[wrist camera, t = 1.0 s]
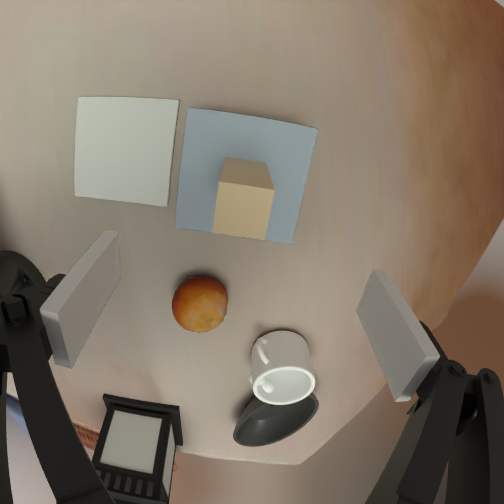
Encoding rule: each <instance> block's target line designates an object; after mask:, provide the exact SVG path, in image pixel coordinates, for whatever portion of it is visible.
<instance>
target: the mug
mask: <svg viewBox="0 0 504 504" xmlns="http://www.w3.org/2000/svg"><path fill="white" fill-rule="evenodd" d="M251 369H252V371H251V374H250V375H249V382H250V383H251V384H252V386H253V392H254V394H255V396H256V397H257V398H258V399H260V400H261V401H263V402H266V403H269V404H274V405H286V404H291V403H295V402H298V401H300V400H302V399H304V398H306V397H307V396H308V395H309V394H310V393H311V392H312V391H313V389H314V387H315V376H314V371H313V367H312V362H311V358H310V353H309V349H308V346H307V343H306V341H305V340H304V339H303V338H302V337H301V336H300V335H298V334H296V333H294V332H290V331H274V332H271V333H268V334H266V335H264V336H262V337H261V338H258V339H257V341H256V343H255V344H254V346H253V348H252V367H251Z"/></svg>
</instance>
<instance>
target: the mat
mask: <svg viewBox="0 0 504 504" xmlns="http://www.w3.org/2000/svg"><path fill="white" fill-rule="evenodd" d="M179 102H180V100H171V99H157V98H139V97H78V107H77V120H76V136H75V168H74V186H75V196H80V197H89V198H98V199H107V200H116V201H124V202H132V203H141V204H149V205H157V206H164V207H167V206H168V198H169V187H170V176H171V166H172V157H173V148H174V140H175V132H176V124H177V116H178V109H179Z"/></svg>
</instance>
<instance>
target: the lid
mask: <svg viewBox="0 0 504 504" xmlns="http://www.w3.org/2000/svg"><path fill="white" fill-rule="evenodd" d="M317 131H318V129H317V128H313V127H309V126H304V125H299V124H294V123H289V122H284V121H279V120H274V119H268V118H263V117H257V116H251V115H244V114H238V113H231V112H224V111H216V110H208V109H200V108H188V112H187V119H186V126H185V134H184V142H183V150H182V158H181V167H180V176H179V185H178V196H177V206H176V218H175V228H181V229H188V230H195V231H202V232H209V233H216V234H223V235H230V236H237V237H244V238H251V239H258V240H265V241H271V242H278V243H285V244H292V240H293V236H294V231H295V227H296V223H297V219H298V215H299V211H300V206H301V202H302V198H303V194H304V189H305V185H306V181H307V176H308V172H309V167H310V163H311V158H312V154H313V149H314V145H315V140H316V135H317Z"/></svg>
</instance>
